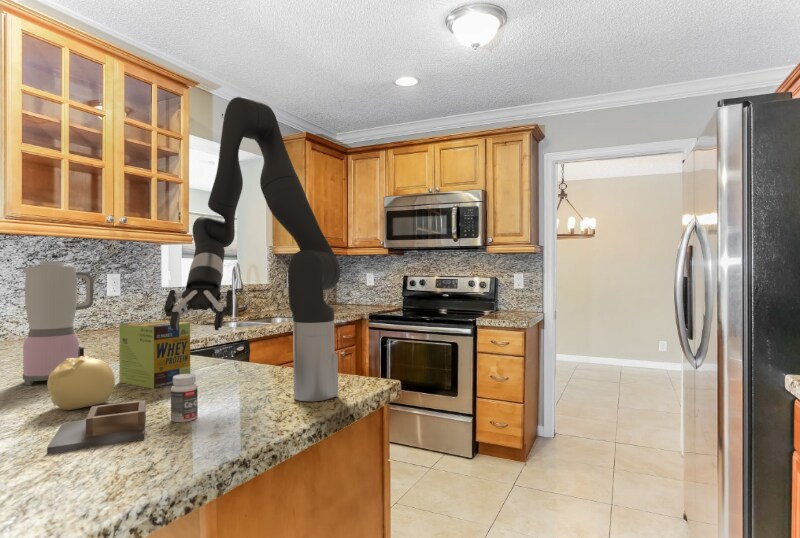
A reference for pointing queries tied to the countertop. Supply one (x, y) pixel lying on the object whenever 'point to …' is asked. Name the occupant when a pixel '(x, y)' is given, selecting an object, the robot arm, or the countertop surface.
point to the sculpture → (80, 383)
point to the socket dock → (102, 427)
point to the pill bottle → (184, 398)
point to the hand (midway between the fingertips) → (195, 328)
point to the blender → (52, 317)
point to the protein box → (153, 353)
